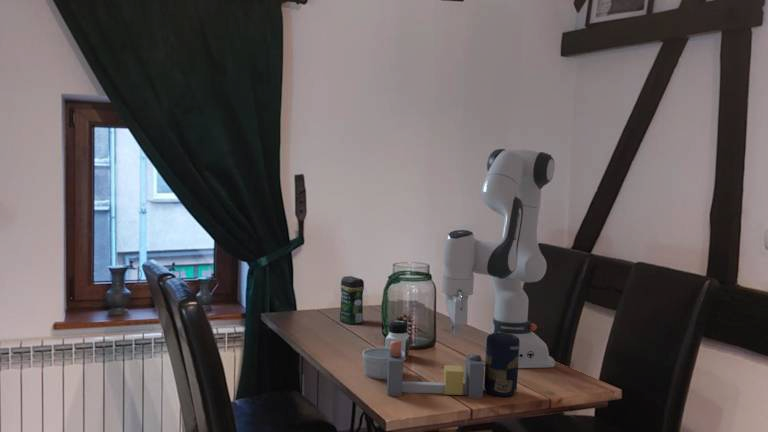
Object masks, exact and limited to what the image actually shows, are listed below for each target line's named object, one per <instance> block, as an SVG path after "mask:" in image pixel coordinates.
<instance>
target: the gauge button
mask: <svg viewBox="0 0 768 432" xmlns="http://www.w3.org/2000/svg"><path fill="white" fill-rule="evenodd" d="M401 349H402V342H401V341H398V340H393V341H391V347H390V356H392V357H400V356H401Z"/></svg>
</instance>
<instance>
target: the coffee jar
mask: <svg viewBox="0 0 768 432" xmlns="http://www.w3.org/2000/svg"><path fill="white" fill-rule="evenodd" d="M340 289H341V294H340V296H341V297H340V309H339V310H340V311H339V320H340V321H341V322H343V323H344V324H349V325H351V324H352V325H359V324H361V323H363V319H364V317H363V315H364V313H363V310H364V309H363V307H364V306H363V305H364V303H363V300H364V299H363V296H364V289H365V281H364V280H363V279H362V278H359V277H355V276H352V275H348V276H347V275H346V276H343V277H342V278H341V281H340Z"/></svg>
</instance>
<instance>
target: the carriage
mask: <svg viewBox="0 0 768 432" xmlns="http://www.w3.org/2000/svg"><path fill="white" fill-rule="evenodd" d="M443 367H444V368H443V382H442V383H445V394H444V395H454V396H455V395H457V396H463V395H464V394H463V383H464V378H465V370H463V366H462V365H444V366H443Z"/></svg>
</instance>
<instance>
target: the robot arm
mask: <svg viewBox="0 0 768 432" xmlns="http://www.w3.org/2000/svg"><path fill="white" fill-rule="evenodd" d="M555 168H556V166H555V159H554V158H553V156H552V154H549V153H548V152H543V151H540V152H539V151H535V150H530V149H505V148H498V149H495V150H493V151H492V152H491V153H490V155H489V156H488V158H487V162H486V169H487V173H486V176H485V178H484V180H483V184H482V186H481V191H480V192H481V193H480V194H481V198H482V201H483V202H484V204H485V205H486V206H487V207H488V208H489V209H490V210H491V211H493V212H495V213H497V214H499V215H501V216H502V217H503V218H504V219H503V224H502V225H503V230H502V236H501V239H500V240H499V241H497V242H492V241H491V242H490V241H483V240H479V239H476V238H475V235H474V232H472V231H471V230H466V229H460V230H459V229H458V230H456V229H455V230H452V231H450V232H449V233H448V234H447V236H446V239H445V243H444V250H443V265H444V269H443V270H444V271H443V275H442V288H441V289H442V291H441V292H442V293H443V294H444V295H445V307H446V312H447V313H448V316H449V317H450V318H449V319H450V327H451V328H450V331H451V333H452V334H453V337H454V338H457V339H458V338H460V337H461V330H462V327H467V324H468V307H469V306H468V300H469V296H472V295H473V294H474V282H475V281H474V280H475V279H474V278H475V275H474V274H478V275H485V276H490V279H491V283H492V286H493V291H494V317H493V318H492V326H491V334H493V333H499V332H503V333H506V334H511V335H515V336H517V337H518V338H519V341H520V344H519V358H518V369H534V368H535V369H537V368H539V369H541V368H554V367H556V360H555V359H554V358H553V357H552V356H550V355H549V354H550V353H549V348H548V345H547V344H546V343H545V341H543V340H542V339H541V338H540V337H539V336H538V335H537V334H536V333H534V332H533V331H536V330H537V328H538V326H537V325H536V323H533V322H532V321H530V320H528V317H529V316H528V315H529V297H528V294H527V293H526V292H525V291H524V289H523V286H522V283H536V282H539V281H540V280H542V279H543V277H544V276H545V274H546V272H547V260H546V258H545V257H544V255H543V254H542V251H541V250H540V247H539V240H538V231H537V230H538V224H539V223H538V221H539V215H540V210H541V209H540V208H541V200H542V188H544V186H547V185H548V184H549V183H550V182H551V181H552V180H553V177H554V175H555V174H554V173H555V170H556V169H555Z"/></svg>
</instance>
